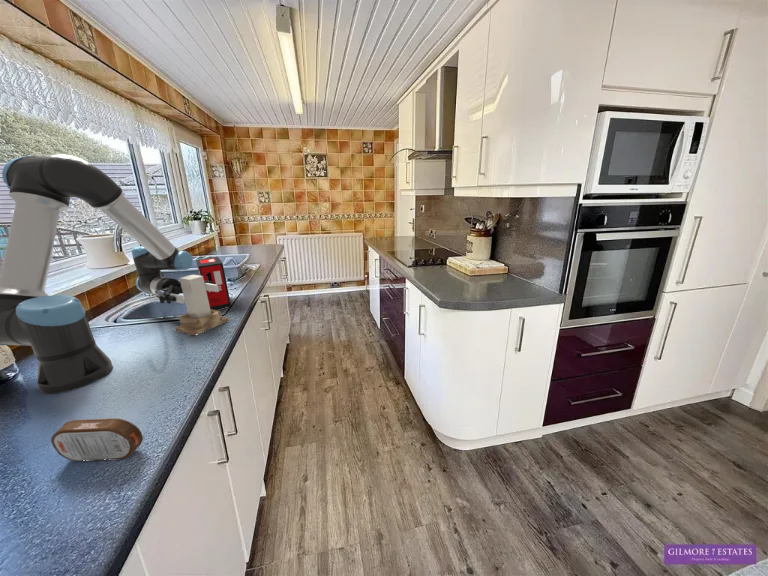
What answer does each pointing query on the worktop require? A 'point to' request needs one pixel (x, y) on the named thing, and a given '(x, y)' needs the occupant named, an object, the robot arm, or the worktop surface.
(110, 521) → the worktop surface
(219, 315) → the wooden box
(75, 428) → the tin
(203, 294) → the white rectangular block
